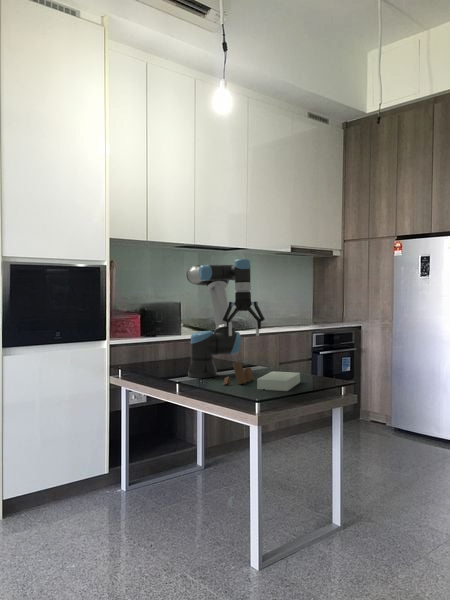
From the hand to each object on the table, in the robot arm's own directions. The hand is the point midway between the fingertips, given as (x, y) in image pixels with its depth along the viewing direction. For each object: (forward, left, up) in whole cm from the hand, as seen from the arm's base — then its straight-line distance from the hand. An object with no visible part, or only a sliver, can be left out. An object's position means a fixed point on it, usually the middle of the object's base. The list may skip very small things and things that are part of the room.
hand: (243, 335), depth 238 cm
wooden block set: (-2, 0, -23) cm, 23 cm away
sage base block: (+17, 0, -23) cm, 29 cm away
